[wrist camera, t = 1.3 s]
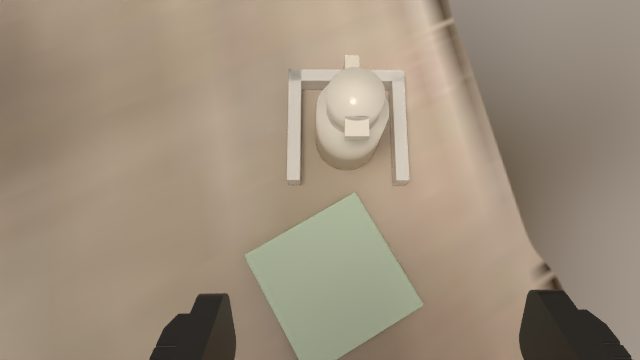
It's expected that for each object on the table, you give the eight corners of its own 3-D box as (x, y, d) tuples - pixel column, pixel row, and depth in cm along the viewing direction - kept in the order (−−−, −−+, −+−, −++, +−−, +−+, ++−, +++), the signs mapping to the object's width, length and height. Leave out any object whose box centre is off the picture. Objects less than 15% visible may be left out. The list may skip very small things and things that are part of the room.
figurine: (377, 174, 42) (397, 136, 32) (315, 174, 42) (316, 135, 32) (374, 97, 44) (393, 37, 34) (316, 96, 44) (316, 36, 34)
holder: (404, 185, 42) (409, 180, 40) (288, 184, 42) (286, 179, 40) (399, 79, 45) (403, 70, 43) (290, 78, 45) (289, 69, 43)
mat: (244, 255, 40) (243, 255, 40) (354, 193, 42) (355, 192, 41) (308, 375, 38) (308, 377, 37) (422, 304, 39) (424, 305, 39)
